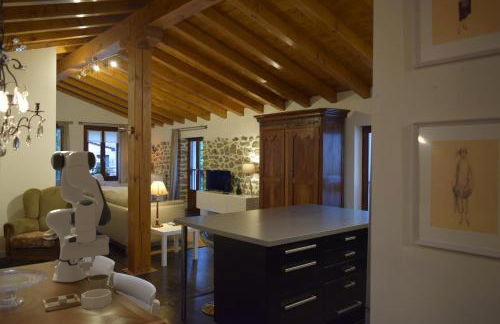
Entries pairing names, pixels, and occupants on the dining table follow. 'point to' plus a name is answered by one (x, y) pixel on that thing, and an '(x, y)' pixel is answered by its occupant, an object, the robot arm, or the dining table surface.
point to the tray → (53, 304)
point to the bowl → (96, 298)
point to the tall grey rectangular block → (85, 266)
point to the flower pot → (98, 281)
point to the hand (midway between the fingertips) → (85, 267)
